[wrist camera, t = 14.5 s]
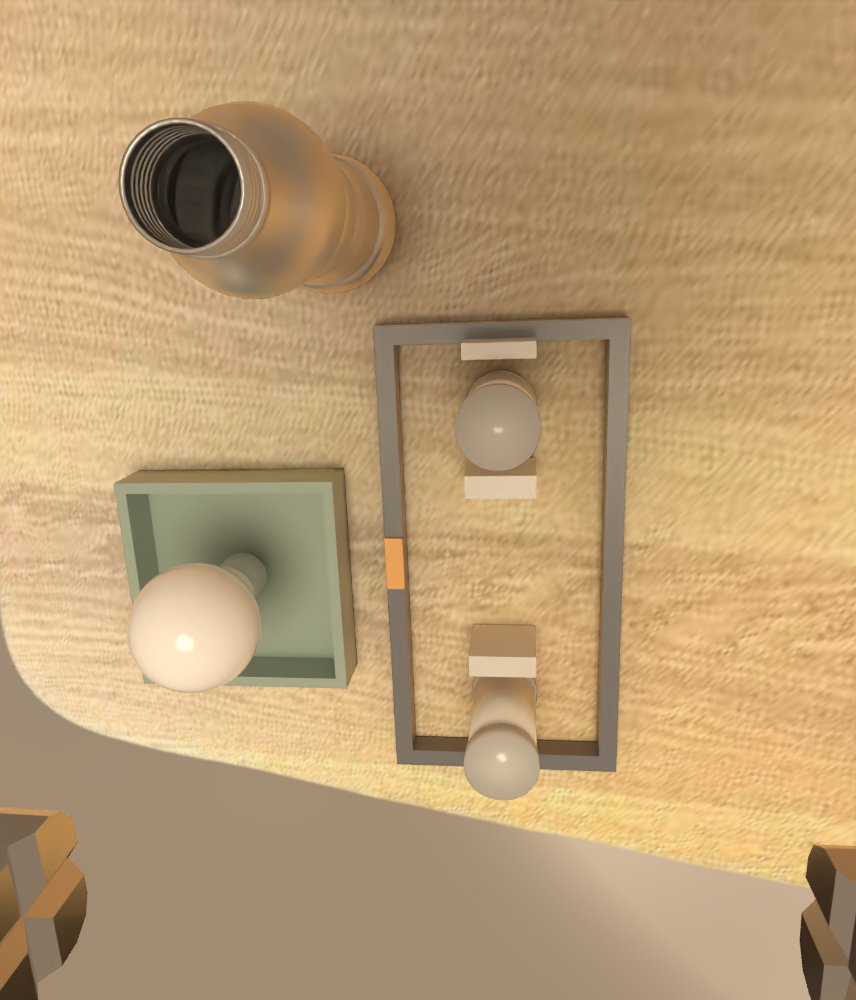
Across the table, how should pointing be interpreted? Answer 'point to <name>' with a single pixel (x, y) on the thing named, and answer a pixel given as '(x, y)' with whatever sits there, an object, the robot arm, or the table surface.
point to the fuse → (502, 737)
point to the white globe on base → (498, 421)
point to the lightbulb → (197, 623)
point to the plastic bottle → (256, 203)
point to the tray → (273, 540)
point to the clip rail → (505, 644)
